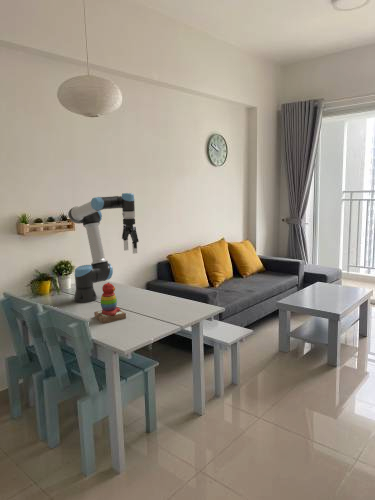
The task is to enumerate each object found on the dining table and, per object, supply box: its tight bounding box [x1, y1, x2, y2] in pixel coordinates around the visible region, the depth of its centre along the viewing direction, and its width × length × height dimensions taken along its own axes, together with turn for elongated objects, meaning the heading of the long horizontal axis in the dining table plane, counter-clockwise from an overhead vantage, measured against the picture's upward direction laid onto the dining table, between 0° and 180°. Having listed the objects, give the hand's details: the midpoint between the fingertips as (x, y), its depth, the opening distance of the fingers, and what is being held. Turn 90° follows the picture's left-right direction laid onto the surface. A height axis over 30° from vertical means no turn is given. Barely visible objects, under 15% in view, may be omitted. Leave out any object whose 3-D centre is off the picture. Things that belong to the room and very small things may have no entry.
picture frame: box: [94, 309, 127, 324], centre depth 228 cm, size 14×14×3 cm
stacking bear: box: [100, 282, 121, 316], centre depth 226 cm, size 11×10×18 cm
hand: (130, 251), depth 242 cm, fingers open, 13 cm apart
